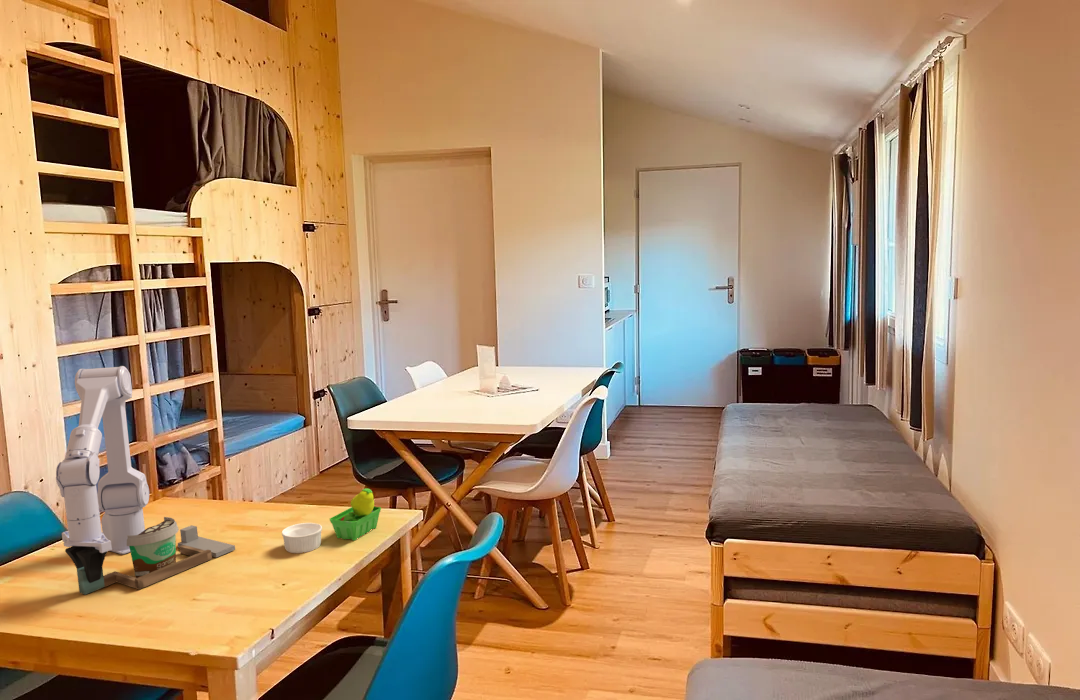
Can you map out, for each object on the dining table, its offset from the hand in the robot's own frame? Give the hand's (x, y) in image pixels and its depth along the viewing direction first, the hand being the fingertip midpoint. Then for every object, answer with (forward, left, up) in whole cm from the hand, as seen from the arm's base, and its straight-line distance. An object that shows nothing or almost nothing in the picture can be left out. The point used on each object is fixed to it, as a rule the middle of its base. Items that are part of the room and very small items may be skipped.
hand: (90, 579), depth 155 cm
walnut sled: (+4, +10, -2) cm, 11 cm away
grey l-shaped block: (+2, +25, -2) cm, 25 cm away
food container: (+4, +13, -3) cm, 14 cm away
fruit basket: (+28, +48, -3) cm, 56 cm away
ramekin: (+22, +36, -3) cm, 42 cm away
